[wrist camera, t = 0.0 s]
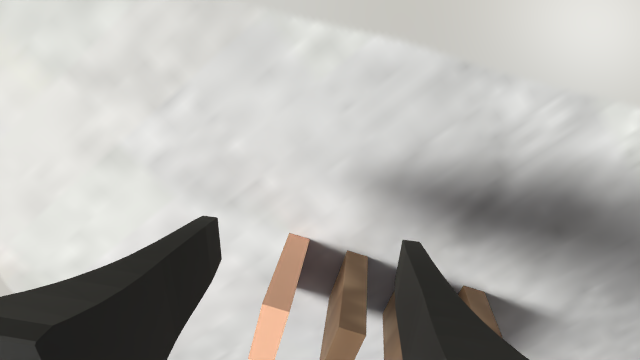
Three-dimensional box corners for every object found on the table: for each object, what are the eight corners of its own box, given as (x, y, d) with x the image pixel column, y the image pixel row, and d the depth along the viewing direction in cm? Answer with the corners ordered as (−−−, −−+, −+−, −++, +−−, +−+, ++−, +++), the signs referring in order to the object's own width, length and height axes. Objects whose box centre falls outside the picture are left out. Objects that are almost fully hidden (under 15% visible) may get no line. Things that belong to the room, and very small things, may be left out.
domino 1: (309, 239, 25) (289, 312, 19) (295, 287, 28) (272, 366, 21) (289, 232, 25) (262, 304, 19) (276, 281, 28) (248, 358, 22)
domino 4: (484, 291, 25) (520, 382, 19) (455, 335, 28) (478, 429, 21) (463, 285, 25) (492, 374, 19) (436, 329, 28) (454, 421, 21)
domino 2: (367, 256, 25) (366, 335, 19) (348, 303, 28) (341, 387, 21) (347, 250, 25) (338, 327, 19) (329, 297, 28) (316, 379, 21)
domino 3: (425, 274, 25) (443, 359, 19) (401, 319, 28) (410, 408, 21) (405, 268, 25) (415, 350, 19) (382, 313, 28) (385, 400, 21)
